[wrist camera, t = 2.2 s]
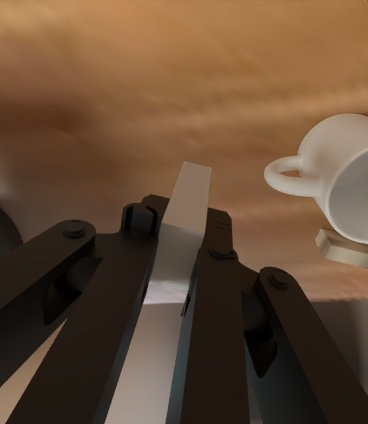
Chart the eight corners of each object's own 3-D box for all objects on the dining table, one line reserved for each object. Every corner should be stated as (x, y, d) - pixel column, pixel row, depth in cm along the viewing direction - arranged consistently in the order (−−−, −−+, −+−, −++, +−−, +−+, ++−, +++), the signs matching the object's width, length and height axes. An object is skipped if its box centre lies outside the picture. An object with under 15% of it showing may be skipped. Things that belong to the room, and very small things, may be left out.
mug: (256, 192, 32) (269, 244, 23) (259, 116, 29) (276, 144, 20) (371, 189, 31) (433, 244, 22) (391, 108, 27) (476, 134, 18)
